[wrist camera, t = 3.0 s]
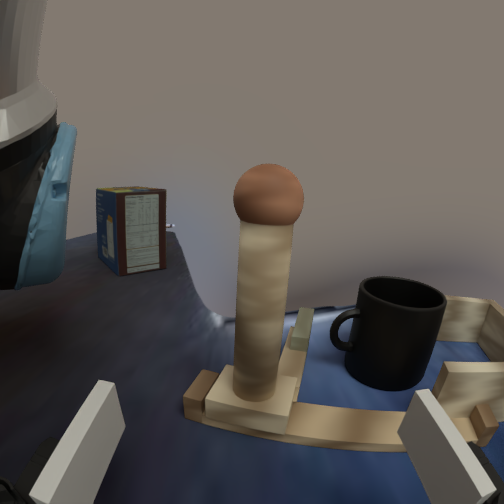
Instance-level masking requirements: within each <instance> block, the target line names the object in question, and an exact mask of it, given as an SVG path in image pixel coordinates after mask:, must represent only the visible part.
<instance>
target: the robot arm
mask: <svg viewBox="0 0 504 504" xmlns="http://www.w3.org/2000/svg"><path fill="white" fill-rule="evenodd" d="M46 5H47V0H0V290H10V289H14V290H20V289H21V288H22V287H27V286H34V285H41V284H47V283H50V282H53V281H54V280H55V279H57V278H58V277H59V275H60V274H61V272H62V270H63V268H64V263H65V245H66V225H67V211H68V200H69V188H70V180H71V171H72V165H73V164H72V163H73V157H74V150H75V142H76V136H77V129H76V127H74V126H73V125H68V124H67V123H66V122H65V123H64V122H62V123H60V124H59V125H57V123H56V115H57V99H56V96H55V95H54V94H53V93H52V92H51V91H50V90H49V89H48V88H47V87H46V86H44V84H42V83H41V82H40V81H39V79H38V77H37V66H38V56H39V47H40V40H41V33H42V26H43V21H44V14H45V9H46ZM124 429H125V423H124V419H123V416H122V412H121V408H120V404H119V400H118V396H117V392H116V387H115V383H111V382H107V381H102V380H99V381H98V382H97V384H96V385H95V387H94V388H93V390H92V391H91V393H90V394H89V396H88V397H87V399H86V400H85V402H84V404H83V405H82V407H81V408H80V410H79V411H78V413H77V414H76V416H75V418H74V419H73V421H72V422H71V424H70V426H69V427H68V429H67V430H66V432H65V434H64V435H63V437H62V439H61V440H57V439H55V438H52V437H49V438H48V439H46V440H45V441H44V442H42V443H41V444H40V445H39V447H38V449H37V450H36V452H35V455H33V456H32V458H31V459H30V462H29V463H28V464H27V466H26V467H25V469H24V471H23V472H22V474H21V476H20V477H19V479H18V480H17V482H16V484H15V485H14V486H13V485H12V484H11V483H10V482H9V481H8V480H7V479H6V478H4V477H1V476H0V504H93V502H94V500H95V497H96V495H97V492H98V490H99V487H100V485H101V482H102V480H103V478H104V475H105V473H106V470H107V468H108V466H109V463H110V461H111V459H112V456H113V454H114V452H115V449H116V447H117V445H118V442H119V440H120V438H121V435H122V433H123V431H124ZM397 433H398V435H399V437H400V439H401V441H402V443H403V445H404V447H405V449H406V451H407V453H408V455H409V457H410V459H411V461H412V463H413V466H414V468H415V470H416V472H417V474H418V476H419V478H420V480H421V482H422V484H423V487H424V489H425V491H426V493H427V495H428V497H429V500H430V502H431V504H504V483H503V481H502V479H501V478H500V476H499V475H498V473H497V472H496V470H495V469H494V467H493V466H492V464H491V463H489V462H490V461H489V460H488V458H487V457H485V454H484V452H483V451H482V450H481V448H480V447H479V446H478V445H476V444H475V443H473V442H472V441H471V442H468V443H466V441H465V440H464V438H463V437H462V435H461V434H460V432H459V431H458V430H457V428H456V427H455V425H454V424H453V422H452V421H451V420H450V418H449V417H448V415H447V414H446V412H445V411H444V410H443V408H442V407H441V405H440V404H439V403H438V401H437V400H436V398H435V397H434V396H433V394H432V393H431V392H430V390H429V389H424V390H417V391H415V393H414V395H413V398H412V400H411V402H410V405H409V407H408V409H407V411H406V414H405V416H404V418H403V420H402V422H401V424H400V426H399V428H398V430H397Z"/></svg>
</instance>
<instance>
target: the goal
mask: <svg viewBox="0 0 504 504" xmlns="http://www.w3.org/2000/svg"><path fill="white" fill-rule="evenodd" d="M444 296H445V297H446V299H447V305H446V309H445V313H444V316H443V320H442V323H441V326H440V330H439V333H438V336H437V339H436V340H439V341H456V342H477V343H478V344H479V345H480V347H481V348H482V350H483V351H484V352H485V354H486V355H487V357H488V358H489V359H490V361H491V362H443V365H442V368H441V370H440V373H439V375H438V378H437V380H436V382H435V385H434V387H433V389H432V392H431V393H432V394H433V396H434V397H435V398H436V400H437V401H438V403H439V404H440V405H441V407H442V408H443V410H444V411H445V412H446V414H447V415H448V417H449V418H467V417H470V415H471V413H472V411H473V409H474V408H475V406H476V405H481V404H489V406H490V408H491V410H492V412H493V414H494V416H495V418H496V420H497V422H502V421H504V309H503V308H502V307H501V306H500V305H498V304H497V303H496V302H495V301H494V300H487V299H476V298H467V297H457V296H446V295H444Z"/></svg>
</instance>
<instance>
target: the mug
mask: <svg viewBox="0 0 504 504" xmlns="http://www.w3.org/2000/svg"><path fill="white" fill-rule="evenodd" d="M446 305H447V299H446V297H445V296H444V295H443V294H442V293H441V292H440V291H438V290H437V289H435V288H433V287H431V286H429V285H426V284H424V283H421V282H418V281H414V280H410V279H405V278H399V277H388V276H381V277H380V276H379V277H371V278H367V279H365V280H363V281H362V282H361V283H360V286H359V292H358V297H357V303H356V308H354V309H352V310H347V311H345V312H343V313H341V314H340V315H339V316H338V317H337V318H336V319H335V320H334V321H333V323H332V326H331V328H330V339H331V342H332V344H333V345H334V346H335V347H336V348H337V349H339V350H342V351H346V355H345V364H346V367H347V369H348V371H349V372H350V373H351V375H352V376H353V377H355V378H356V379H357V380H359V381H360V382H362V383H364V384H366V385H368V386H371V387H374V388H377V389H381V390H389V391H397V390H405V389H408V388H411V387H413V386H415V385H416V384H417V383H419V382H420V381H421V379H422V378H423V376H424V373H425V371H426V368H427V365H428V363H429V360H430V357H431V354H432V351H433V348H434V345H435V342H436V339H437V336H438V333H439V330H440V326H441V323H442V320H443V316H444V313H445V309H446ZM350 318H353V323H352V328H351V333H350V337H349V341H348V342H343V341H341V340H340V339H339V337H338V329H339V327H340V325H341V324H342V323H343V322H344V321H346V320H347V319H350Z"/></svg>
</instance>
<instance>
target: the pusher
mask: <svg viewBox="0 0 504 504" xmlns="http://www.w3.org/2000/svg"><path fill="white" fill-rule="evenodd" d="M233 201H234V207H235V210H236V213H237V215H238V217H239V218H240V239H239V260H238V279H237V299H236V300H237V301H236V321H235V345H234V366H231V365H226V366H225V368H224V369H223V371H222V372H221V374H220V376H219V377H218V379H217V380H216V382H215V384H214V385H213V387H212V388H211V390H210V392H209V393H208V395H207V396H206V398H205V410H206V417H207V418H211V419H214V420H218V421H222V422H226V423H230V424H234V425H238V426H243V427H247V428H252V429H257V430H261V431H267V432H272V433H277V434H283V435H285V431H286V427H287V423H288V419H289V415H290V411H291V407H292V403H293V402H297V397H298V393H299V388H300V383H301V379H302V375H303V370H304V365H305V360H306V355H307V350H308V345H309V339H310V333H311V327H312V320H313V314H314V309H310V308H303V307H300V310H299V313H298V316H297V320H296V323H295V327H292V326H291V327H290V330H289V334H288V337H287V340H286V343H285V346H284V349H283V352H282V355H281V358H280V350H281V342H282V333H283V325H284V316H285V306H286V298H287V288H288V278H289V268H290V258H291V247H292V236H293V224H294V223H295V221H296V220H297V219H298V217H299V216H300V214H301V211H302V208H303V203H304V195H303V189H302V186H301V184H300V182H299V180H298V179H297V178H296V177H295V175H294V174H293V173H292V172H291V171H289V170H288V169H286V168H284V167H282V166H279V165H276V164H261V165H258V166H255V167H253V168H251V169H249V170H248V171H247V172H245V173H244V174H243V175H242V176H241V178H240V179H239V180H238V182H237V184H236V187H235V190H234V196H233ZM279 358H280V361H279Z"/></svg>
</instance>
